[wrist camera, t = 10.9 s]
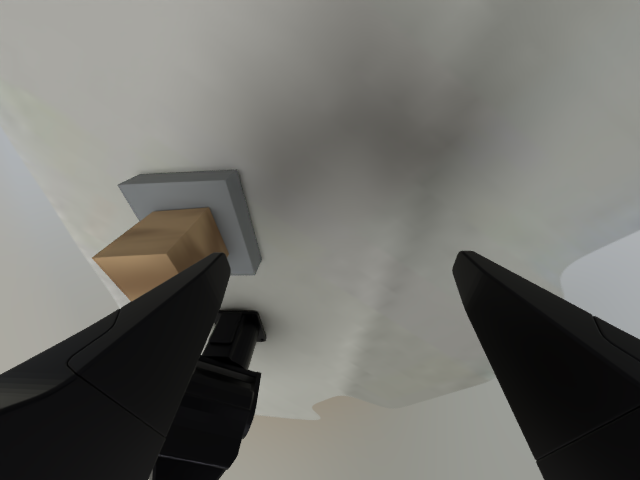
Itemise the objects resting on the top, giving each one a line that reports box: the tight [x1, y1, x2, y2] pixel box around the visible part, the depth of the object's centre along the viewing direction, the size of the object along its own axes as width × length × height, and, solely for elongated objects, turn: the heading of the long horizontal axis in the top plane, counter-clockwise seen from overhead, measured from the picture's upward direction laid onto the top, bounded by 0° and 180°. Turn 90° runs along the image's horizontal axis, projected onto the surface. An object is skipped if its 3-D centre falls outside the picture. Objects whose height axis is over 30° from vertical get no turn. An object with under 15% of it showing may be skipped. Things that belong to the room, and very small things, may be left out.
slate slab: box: [118, 170, 262, 275], centre depth 22 cm, size 10×9×3 cm
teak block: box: [92, 207, 229, 301], centre depth 18 cm, size 5×5×6 cm
